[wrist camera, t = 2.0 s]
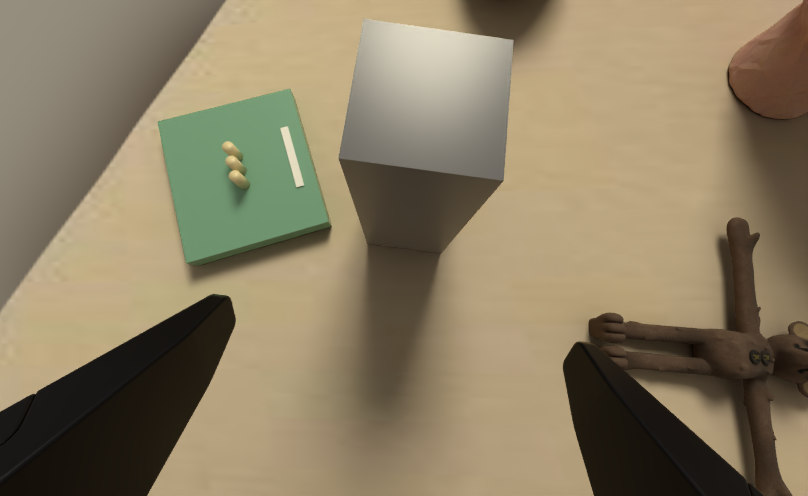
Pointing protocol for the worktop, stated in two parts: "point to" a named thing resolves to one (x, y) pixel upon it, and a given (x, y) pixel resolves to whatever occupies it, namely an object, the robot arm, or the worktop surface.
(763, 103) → the ice cream cone
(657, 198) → the worktop surface
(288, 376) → the worktop surface
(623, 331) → the brown clay figure
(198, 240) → the header board
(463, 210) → the grey rectangular block
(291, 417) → the worktop surface
